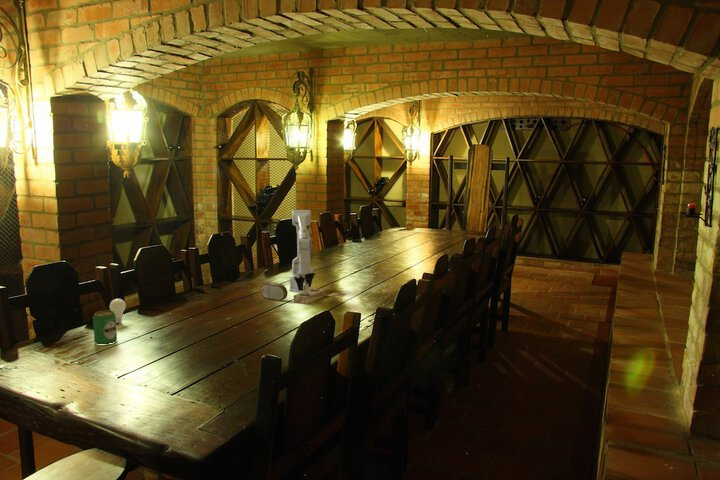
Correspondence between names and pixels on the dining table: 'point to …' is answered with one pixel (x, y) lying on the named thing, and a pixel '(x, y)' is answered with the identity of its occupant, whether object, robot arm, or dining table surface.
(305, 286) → the pin
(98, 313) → the beverage can
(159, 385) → the dining table surface
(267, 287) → the tin
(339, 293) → the cork coaster
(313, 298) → the wooden rectangular frame
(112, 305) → the lightbulb
